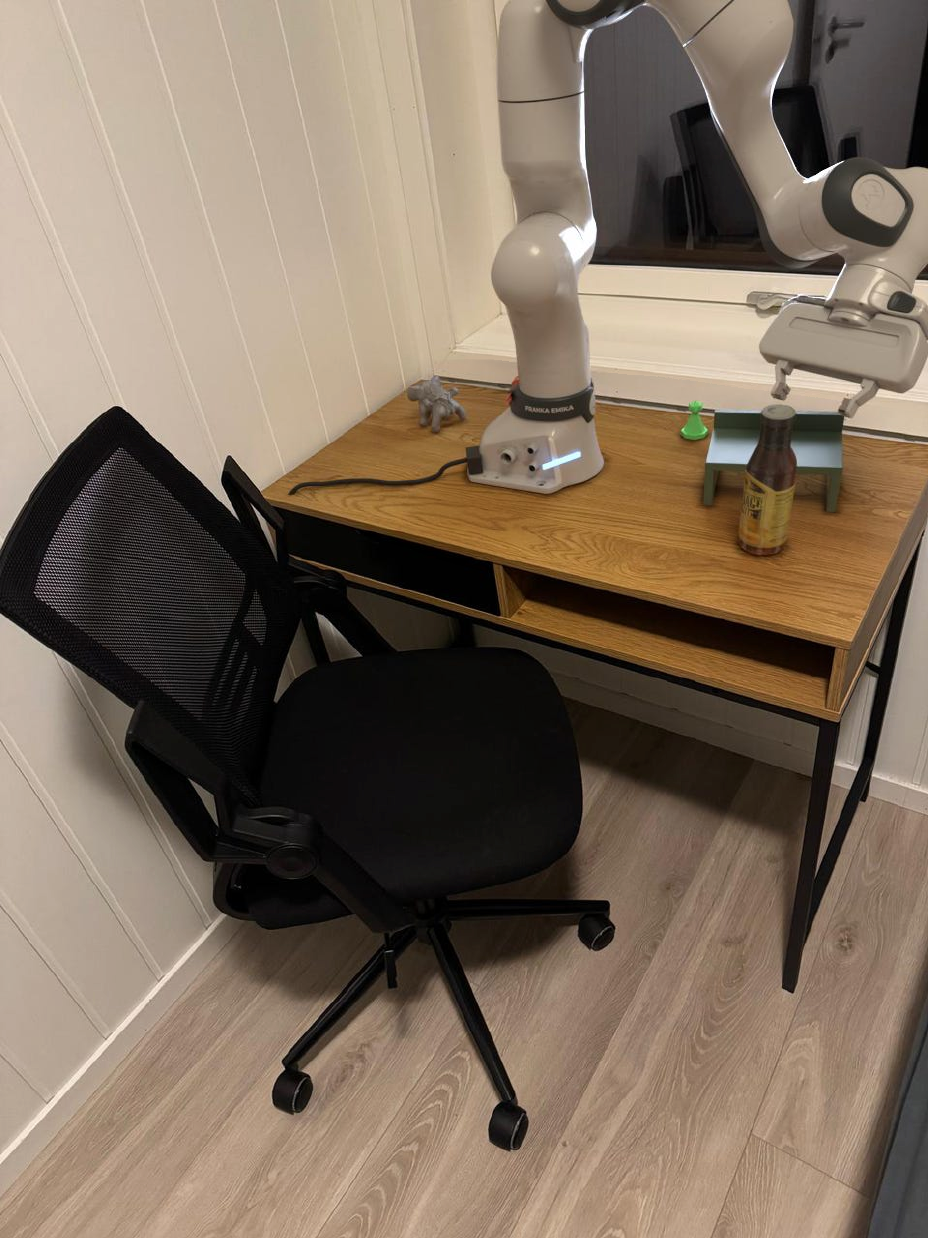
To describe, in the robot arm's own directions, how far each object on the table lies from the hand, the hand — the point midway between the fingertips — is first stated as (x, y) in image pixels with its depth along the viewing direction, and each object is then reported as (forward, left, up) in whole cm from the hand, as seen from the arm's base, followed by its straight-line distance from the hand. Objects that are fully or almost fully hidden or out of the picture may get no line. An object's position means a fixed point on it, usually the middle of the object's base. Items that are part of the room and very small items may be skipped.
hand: (809, 406), depth 108 cm
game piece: (-17, +27, -18) cm, 36 cm away
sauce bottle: (-4, -6, -18) cm, 19 cm away
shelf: (-4, +10, -17) cm, 20 cm away
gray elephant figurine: (-65, +29, -18) cm, 73 cm away
